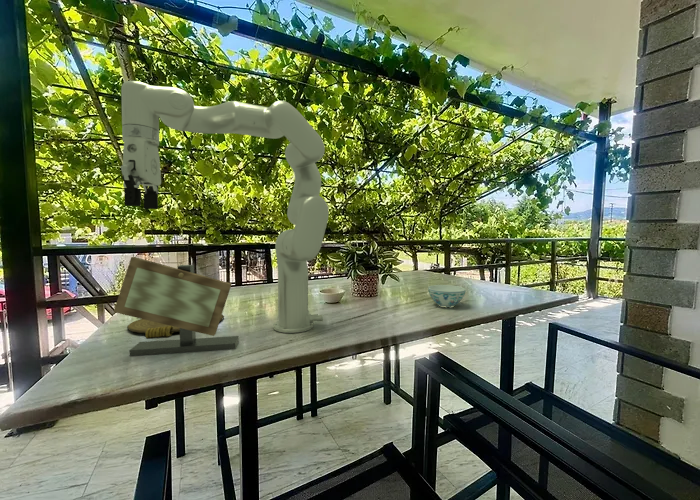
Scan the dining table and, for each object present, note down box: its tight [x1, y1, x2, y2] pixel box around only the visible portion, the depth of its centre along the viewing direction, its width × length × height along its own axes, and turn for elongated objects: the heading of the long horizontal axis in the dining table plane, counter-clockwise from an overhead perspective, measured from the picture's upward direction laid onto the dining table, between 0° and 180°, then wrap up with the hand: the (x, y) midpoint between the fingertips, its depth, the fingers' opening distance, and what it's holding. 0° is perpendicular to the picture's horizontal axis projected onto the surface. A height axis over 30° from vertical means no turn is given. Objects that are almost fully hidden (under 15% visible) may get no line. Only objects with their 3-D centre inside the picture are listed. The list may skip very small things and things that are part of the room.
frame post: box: [128, 264, 240, 357], centre depth 83 cm, size 25×6×22 cm, turn 102°
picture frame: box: [113, 256, 232, 337], centre depth 80 cm, size 24×2×14 cm, turn 101°
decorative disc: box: [126, 314, 225, 339], centre depth 106 cm, size 29×3×30 cm
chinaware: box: [427, 284, 467, 307], centre depth 131 cm, size 15×15×8 cm
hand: (142, 207), depth 78 cm, fingers open, 9 cm apart
